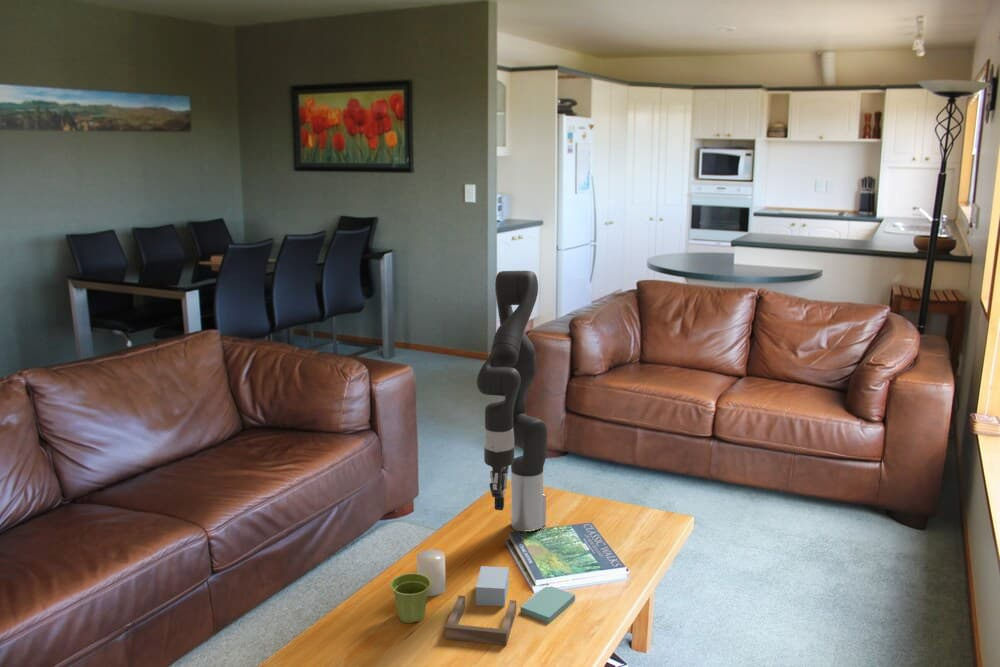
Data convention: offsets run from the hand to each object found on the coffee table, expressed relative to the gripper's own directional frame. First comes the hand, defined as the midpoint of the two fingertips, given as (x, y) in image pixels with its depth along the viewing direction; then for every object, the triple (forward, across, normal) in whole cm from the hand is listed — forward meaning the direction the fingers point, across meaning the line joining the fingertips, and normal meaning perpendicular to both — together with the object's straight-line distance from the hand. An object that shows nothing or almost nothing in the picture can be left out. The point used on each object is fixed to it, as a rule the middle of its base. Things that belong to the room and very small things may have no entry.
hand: (499, 508), depth 211 cm
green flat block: (+19, +13, +14) cm, 27 cm away
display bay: (+18, +23, 0) cm, 29 cm away
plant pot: (+18, +23, -17) cm, 34 cm away
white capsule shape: (+18, +10, -15) cm, 26 cm away
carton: (+18, +10, 0) cm, 21 cm away
